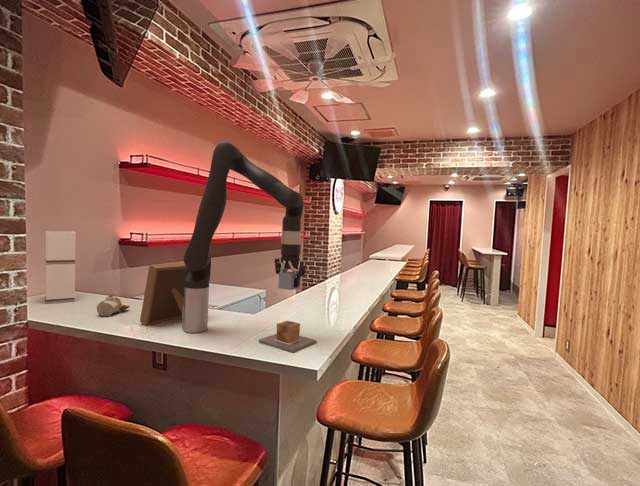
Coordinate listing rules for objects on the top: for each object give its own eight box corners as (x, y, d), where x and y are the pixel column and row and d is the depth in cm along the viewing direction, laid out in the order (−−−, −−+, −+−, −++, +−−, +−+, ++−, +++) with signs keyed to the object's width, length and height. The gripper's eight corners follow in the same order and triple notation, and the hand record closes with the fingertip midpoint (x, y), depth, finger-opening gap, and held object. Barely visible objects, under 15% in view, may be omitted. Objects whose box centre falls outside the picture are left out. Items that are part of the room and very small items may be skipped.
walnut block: (276, 339, 127) (276, 323, 126) (286, 336, 132) (287, 320, 131) (288, 343, 123) (289, 326, 123) (299, 339, 128) (299, 323, 128)
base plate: (258, 342, 126) (258, 339, 126) (283, 333, 138) (283, 331, 138) (292, 353, 117) (292, 349, 117) (316, 342, 129) (316, 339, 129)
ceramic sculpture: (89, 296, 148) (109, 292, 163) (88, 317, 148) (108, 310, 163) (115, 298, 149) (132, 293, 164) (113, 318, 149) (131, 311, 164)
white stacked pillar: (72, 297, 183) (73, 231, 181) (74, 301, 175) (75, 232, 173) (45, 299, 175) (46, 231, 174) (45, 304, 167) (46, 231, 166)
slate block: (278, 288, 132) (278, 272, 132) (287, 286, 137) (288, 271, 137) (290, 290, 129) (291, 274, 129) (300, 288, 134) (300, 272, 134)
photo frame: (139, 324, 142) (141, 263, 141) (184, 314, 161) (186, 260, 160) (162, 330, 134) (163, 267, 133) (206, 319, 153) (208, 263, 152)
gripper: (311, 243, 132) (310, 287, 133) (282, 241, 140) (281, 283, 140) (300, 244, 126) (298, 290, 126) (270, 242, 133) (268, 285, 134)
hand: (289, 286), depth 133 cm, fingers closed on slate block, 6 cm apart
